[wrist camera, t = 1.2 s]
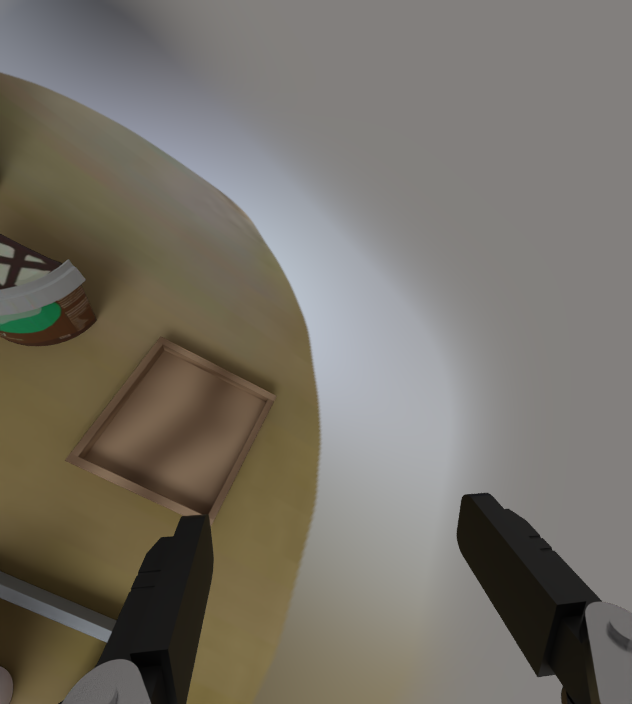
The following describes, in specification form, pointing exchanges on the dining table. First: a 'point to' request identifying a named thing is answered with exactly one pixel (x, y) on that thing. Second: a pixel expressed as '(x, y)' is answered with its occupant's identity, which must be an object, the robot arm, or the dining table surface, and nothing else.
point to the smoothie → (5, 686)
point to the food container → (40, 297)
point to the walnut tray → (176, 431)
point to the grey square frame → (55, 607)
